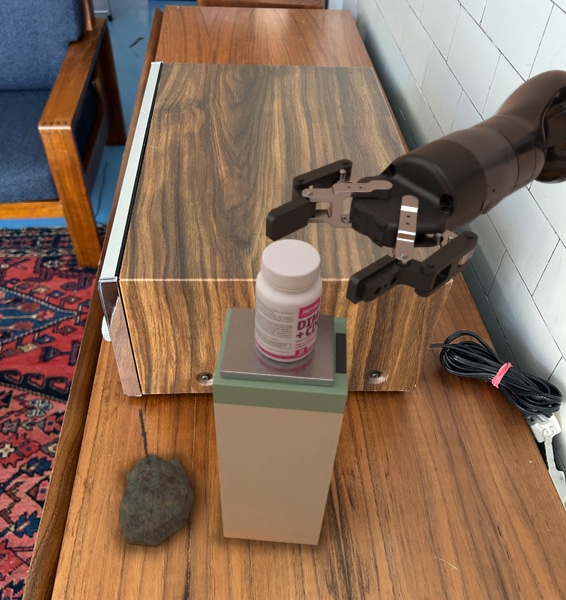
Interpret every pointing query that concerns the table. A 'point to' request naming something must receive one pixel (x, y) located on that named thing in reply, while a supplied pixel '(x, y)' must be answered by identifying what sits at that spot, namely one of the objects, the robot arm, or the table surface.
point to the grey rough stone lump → (154, 499)
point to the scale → (282, 368)
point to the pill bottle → (288, 300)
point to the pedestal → (275, 471)
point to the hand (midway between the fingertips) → (307, 258)
